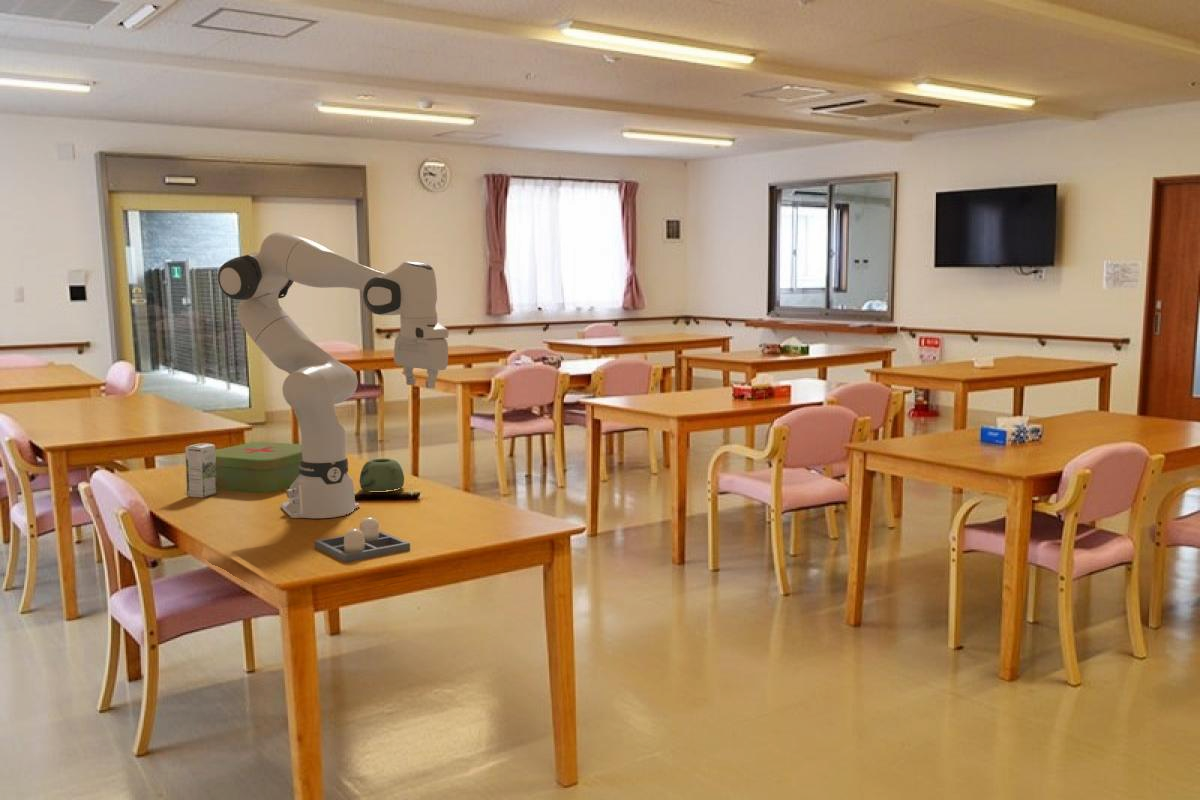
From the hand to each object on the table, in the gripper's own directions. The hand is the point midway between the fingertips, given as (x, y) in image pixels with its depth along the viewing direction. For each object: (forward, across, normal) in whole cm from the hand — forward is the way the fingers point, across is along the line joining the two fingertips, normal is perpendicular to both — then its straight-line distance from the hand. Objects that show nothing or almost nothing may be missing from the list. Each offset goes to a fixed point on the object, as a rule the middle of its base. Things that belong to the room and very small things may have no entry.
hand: (420, 386), depth 244 cm
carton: (+35, +11, -22) cm, 43 cm away
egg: (+34, +7, -18) cm, 39 cm away
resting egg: (+34, +14, -26) cm, 45 cm away
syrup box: (+35, -72, -30) cm, 86 cm away
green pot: (+35, -45, +13) cm, 59 cm away
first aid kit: (+36, -79, -10) cm, 87 cm away
